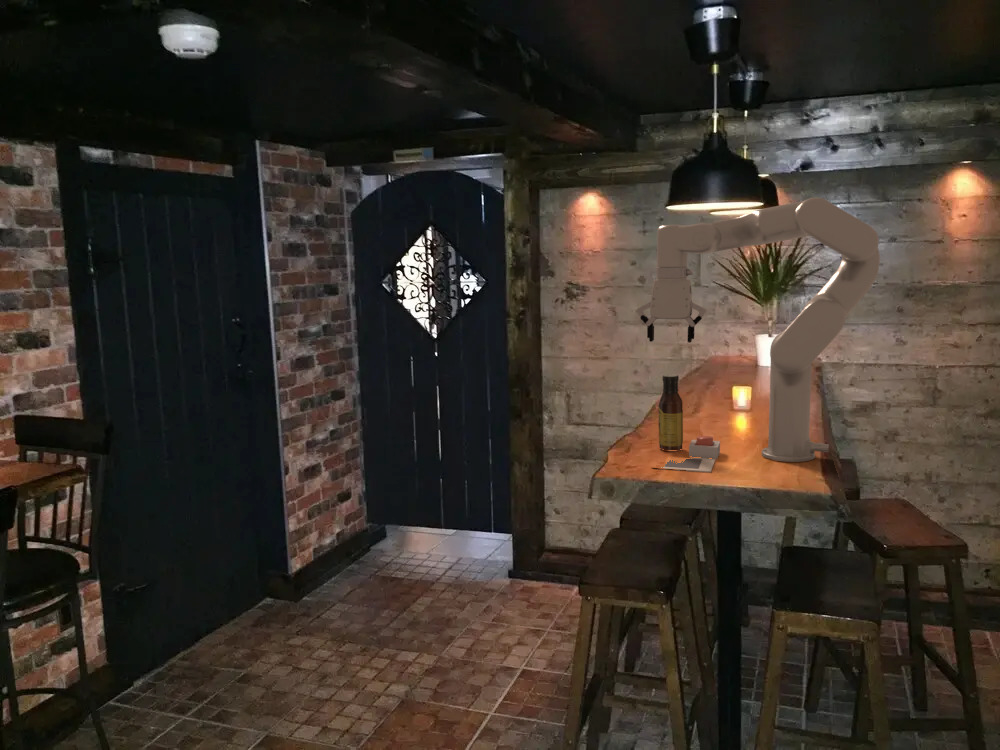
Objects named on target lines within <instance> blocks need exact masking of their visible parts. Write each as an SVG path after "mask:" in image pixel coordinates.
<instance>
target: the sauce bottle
mask: <svg viewBox="0 0 1000 750" xmlns="http://www.w3.org/2000/svg"><path fill="white" fill-rule="evenodd" d="M662 383H663V384H662V386H663V389H662V394H661V396H660V399H659V402H658V445H659V449H660V448H661V449H664V450H680V449H682V450H683V444H684V409H683V399H682V397H681V395H680V394H679V385H678V384H679V374H677V373H665V374H663V375H662ZM661 449H660V450H661ZM680 451H681V450H680Z"/></svg>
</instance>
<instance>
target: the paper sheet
mask: <svg viewBox="0 0 1000 750" xmlns="http://www.w3.org/2000/svg"><path fill="white" fill-rule="evenodd" d="M691 458H692V457H691ZM691 458H690V459H686V460H685V461H684V462H683V461H682V462H683V463H682V462H681V463H677V462H676V463H677V464H676V463H675V461H674V463H673V460H672V462H671V460H670V461H669V462H667V464H665V466H664V467H663V468H665V469H676V470H675V471H680V470H686V471H685V472H696V473H699V472H700V473H712V470H713V468H714V464H715V462H716V459H709V458H692V459H691ZM661 468H662V467H661ZM665 469H664V470H665ZM677 469H678V470H677Z"/></svg>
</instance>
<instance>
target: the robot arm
mask: <svg viewBox="0 0 1000 750" xmlns="http://www.w3.org/2000/svg"><path fill="white" fill-rule="evenodd" d="M805 237H811V238H813V239H815V240H816V241H818V242H819V243H821V244H823V245H824V246H826V247H828V248H829V249H830V250H832V251H835V252H836V253H838V254H840V256H841V261H840V265H839V267H838V268H837V270H836V271H835V272H834V273H833V275H832V276H831V277H830V279H828V281H827V282H826V283H824V285H823V286H822V288H821V289H819V291H818V292H817V293H816V294H815V295H814V296H813V297H812V298H811V299H810V300H809V301H807V302H806V304H805V305H804V306H803V308H802V310H801V312H800V313H799V314H798V315H797V316H796V317H795V318H794V320H793V321H791V323H790V324H789V325H788V326H787V327H786V329H784V330H783V331H781V332H779V333H778V334H777V335H776V336H775V337H774V338H773V340H772V342H771V345H770V349H769V350H770V351H769V355H770V374H769V376H770V377H769V404H768V405H769V407H768V409H769V410H768V440H767V441H768V447H767V446H766V447H764V448H762V450H761V456H763V457H764V458H765V459H769V460H773V461H777V462H786V463H788V462H789V463H801V462H804V463H805V462H810V461H812V460H814V459H816V453H815V452H820V453H829V451H830V449H829V448H830V447H829V444H828V443H823V442H814V441H811V436H810V422H811V421H810V420H811V419H810V418H811V416H810V415H811V396H812V393H811V391H812V364H813V362H814V361H815V360H816V359H817V358H818V357H819V356H820V355H821V354H822V352H823V351H824V350H825V349H826V348H827V347H828V346H829V345H830V344H831V343H832V342H833V340H834V339H835V338H836V337H837V336H838V335H839V333H840V332H842V330H843V328H844V325H845V323H846V319H847V318H846V317H847V316H848V315H849V313H850V312H851V311H852V310H853V309H854V308H855V307H856V306H857V304H859V302H860V301H861V299H862V298H863V297H864V296H865V295H866V294H867V293H868V291H869V290H870V289H871V287H872V286H873V284H874V283H875V281H876V278H877V276H878V274H879V270H880V263H881V262H880V260H881V259H880V258H881V257H880V250H879V245H880V244H879V243H880V240H879V234H878V233H877V231H876V230H875V229H874V227H872V226H871V225H869V224H867V223H866V222H865V221H862V220H861V219H859V218H857V217H855V216H854V215H852V214H850V213H848V212H847V211H845V210H843V209H842V208H840V207H839V206H837V205H835V204H833V203H832V202H831V201H829V200H827V199H825V198H823V197H820V196H816V197H815V196H814V197H810V198H807V199H805V200H801V201H800V200H799V201H797V202H791V203H785V204H781V205H776V206H771V207H766V208H760V209H757V210H753V211H751V212H749V213H747V214H743V215H741V216H738V217H733V218H729V219H723V220H719V221H715V222H709V223H706V222H700V223H695V224H688V225H683V224H663V225H660V226H659V227H657V231H656V279H653V283H652V289H651V296H650V302H648V303H645V304H643V305H642V306H640V307H638V308H636V312H637V315H638V316H639V318H640V320H641V321H642V322H643V323H644V324H645V326H646V328H647V329H646V330H647V331H646V334H647V335H646V337H647V339H649V342H650V343H651V342H654V340H655V325H654V322H655V321H656V320H685V321H686V322H687V324H688V327H687V343H692V342H693V340H695V326H696V325H697V324H698V323H700V322H701V320H702V319H703V317H704V316H705V314H706V311H707V309H706V308H705V307H703V306H701V305H699V304H696V303H695V302H693V296H692V295H693V294H692V293H693V292H692V284H691V280H690V279H688V276H693V274H694V270H693V269H690V268H688V253H691V254H696V255H697V254H698V255H703V254H704V255H705V254H712V253H716V252H721V251H722V252H723V251H726V250H731V249H738V248H742V247H748V246H749V247H750V246H751V247H752V246H754V247H755V246H762V245H768V244H773V243H779V242H785V241H789V240H793V239H800V238H805ZM648 309H650V318H649V317H648V316H646V314H645V311H646V310H648ZM693 310H695V311H697V312H698V314H697V316H696V317H695V318H693V317H692V315H693Z"/></svg>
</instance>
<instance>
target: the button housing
mask: <svg viewBox="0 0 1000 750" xmlns="http://www.w3.org/2000/svg"><path fill="white" fill-rule="evenodd" d="M719 453H720V454H721V441H720V440H713V446H703V445H697V439H691V442H689V445H688V457H689V456H692V457H701V458H712V459H715V460H719V457H718V456H720V454H719Z"/></svg>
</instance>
